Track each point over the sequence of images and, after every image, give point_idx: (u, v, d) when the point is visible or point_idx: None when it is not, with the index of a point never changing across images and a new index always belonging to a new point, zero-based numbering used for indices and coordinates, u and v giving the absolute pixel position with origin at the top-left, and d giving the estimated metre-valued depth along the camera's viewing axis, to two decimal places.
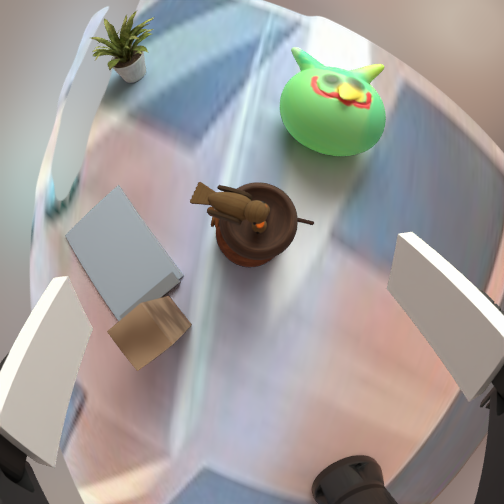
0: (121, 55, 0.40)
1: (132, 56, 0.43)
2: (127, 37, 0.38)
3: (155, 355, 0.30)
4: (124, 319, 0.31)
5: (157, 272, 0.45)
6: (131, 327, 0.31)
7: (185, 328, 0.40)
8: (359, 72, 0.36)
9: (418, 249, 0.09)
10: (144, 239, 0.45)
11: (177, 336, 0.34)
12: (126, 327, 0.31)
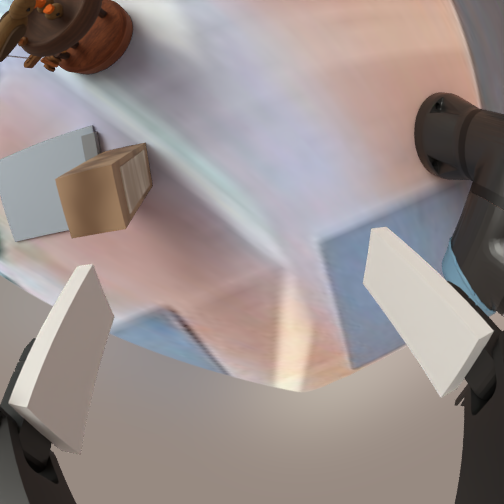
0: None
1: None
2: None
3: (115, 194, 0.22)
4: (64, 208, 0.22)
5: (76, 152, 0.31)
6: (75, 205, 0.22)
7: (134, 148, 0.29)
8: None
9: (389, 243, 0.10)
10: (42, 153, 0.30)
11: (120, 157, 0.24)
12: (73, 211, 0.22)
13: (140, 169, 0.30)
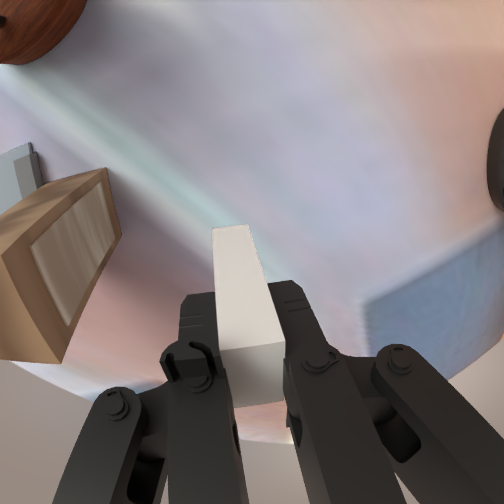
0: None
1: None
2: None
3: (24, 310, 0.09)
4: None
5: (11, 185, 0.18)
6: None
7: (79, 184, 0.15)
8: None
9: (234, 240, 0.11)
10: None
11: (36, 219, 0.11)
12: None
13: (90, 222, 0.16)
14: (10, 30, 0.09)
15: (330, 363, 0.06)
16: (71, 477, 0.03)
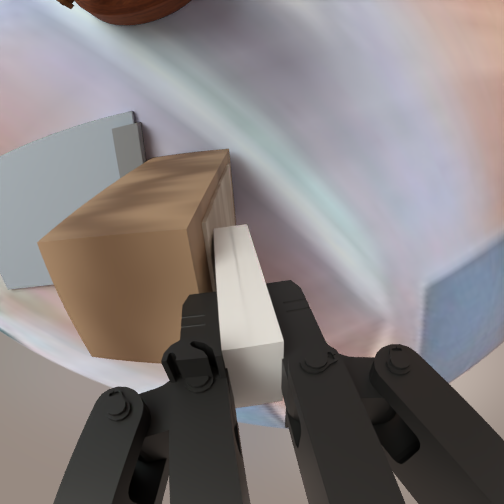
0: None
1: None
2: None
3: None
4: (68, 307, 0.10)
5: (101, 157, 0.19)
6: (91, 307, 0.10)
7: (216, 162, 0.16)
8: None
9: (233, 240, 0.11)
10: (42, 157, 0.18)
11: (199, 191, 0.11)
12: (88, 316, 0.10)
13: (227, 204, 0.17)
14: None
15: (329, 363, 0.06)
16: (72, 477, 0.03)
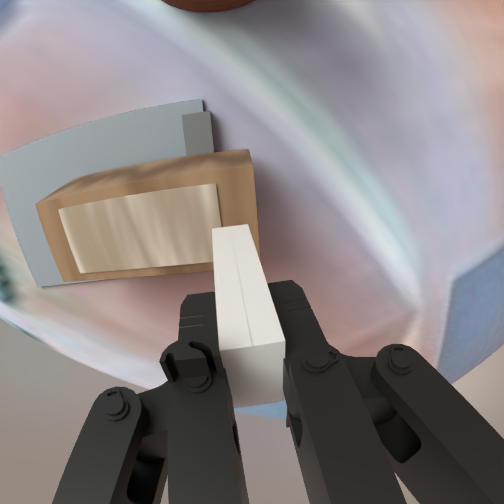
0: None
1: None
2: None
3: None
4: None
5: (165, 145, 0.19)
6: None
7: (164, 175, 0.14)
8: None
9: (234, 240, 0.11)
10: (93, 141, 0.18)
11: (76, 192, 0.14)
12: None
13: (161, 222, 0.15)
14: None
15: (330, 363, 0.06)
16: (71, 477, 0.03)
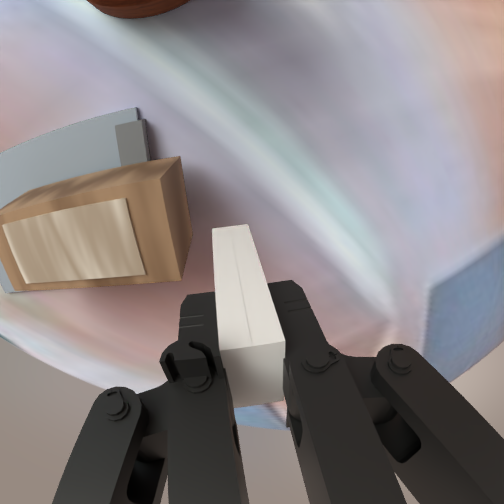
0: None
1: None
2: None
3: None
4: None
5: (103, 156, 0.18)
6: None
7: (81, 191, 0.13)
8: None
9: (234, 240, 0.11)
10: (40, 155, 0.17)
11: (15, 209, 0.13)
12: None
13: (82, 237, 0.14)
14: None
15: (330, 363, 0.06)
16: (71, 477, 0.03)
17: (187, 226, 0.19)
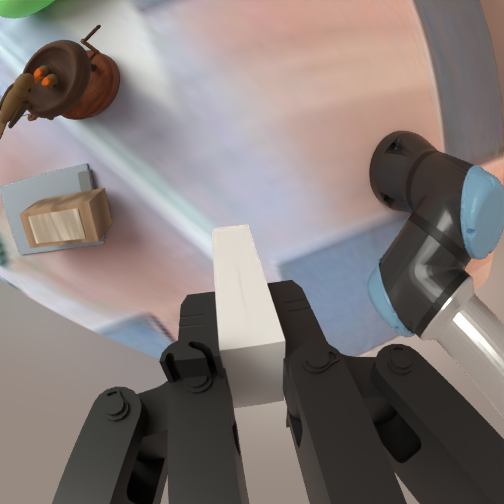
0: None
1: None
2: None
3: (24, 228, 0.34)
4: None
5: (73, 186, 0.38)
6: None
7: (62, 205, 0.33)
8: None
9: (234, 240, 0.11)
10: (44, 183, 0.37)
11: (35, 210, 0.33)
12: None
13: (62, 223, 0.34)
14: (77, 102, 0.29)
15: (330, 363, 0.06)
16: (71, 477, 0.03)
17: (107, 219, 0.40)
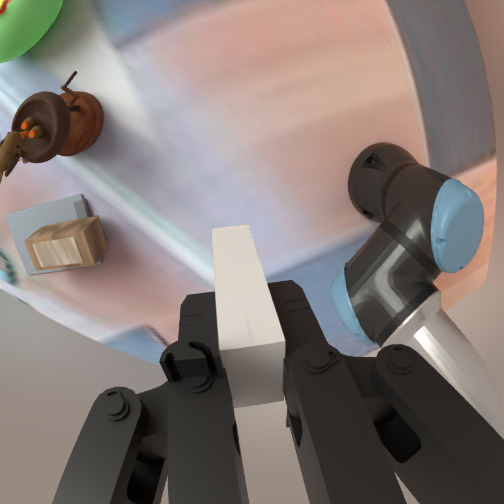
0: None
1: None
2: None
3: (29, 254, 0.39)
4: None
5: (71, 214, 0.43)
6: None
7: (61, 234, 0.38)
8: None
9: (234, 240, 0.11)
10: (45, 212, 0.42)
11: (37, 238, 0.38)
12: None
13: (62, 249, 0.39)
14: (66, 141, 0.34)
15: (330, 363, 0.06)
16: (71, 477, 0.03)
17: (102, 244, 0.44)
